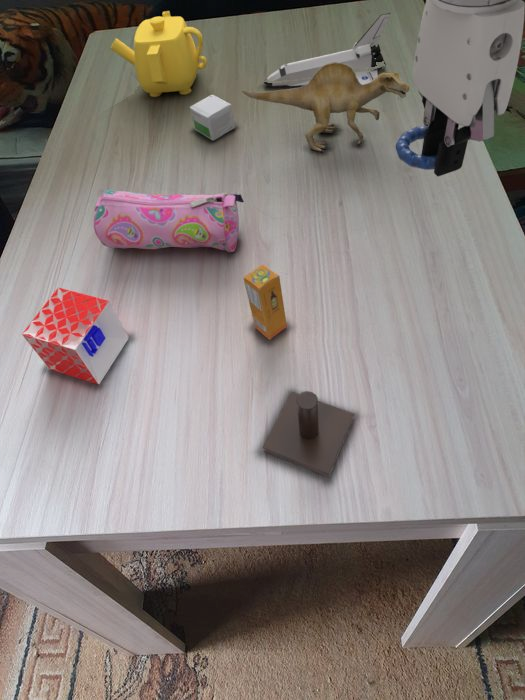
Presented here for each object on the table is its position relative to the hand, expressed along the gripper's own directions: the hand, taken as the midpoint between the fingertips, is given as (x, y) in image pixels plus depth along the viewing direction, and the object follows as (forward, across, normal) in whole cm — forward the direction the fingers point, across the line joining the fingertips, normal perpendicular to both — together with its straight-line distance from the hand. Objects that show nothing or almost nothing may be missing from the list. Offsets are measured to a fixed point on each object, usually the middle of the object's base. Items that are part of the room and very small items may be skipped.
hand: (440, 163), depth 59 cm
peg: (+18, -16, +24) cm, 34 cm away
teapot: (+18, +70, +18) cm, 75 cm away
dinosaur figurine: (+18, +36, -2) cm, 40 cm away
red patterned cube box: (+18, +7, +46) cm, 50 cm away
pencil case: (+18, +23, +29) cm, 41 cm away
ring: (-1, +3, 0) cm, 3 cm away
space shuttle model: (+18, +55, -12) cm, 59 cm away
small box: (+18, +49, +14) cm, 54 cm away
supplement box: (+18, 0, +22) cm, 29 cm away
